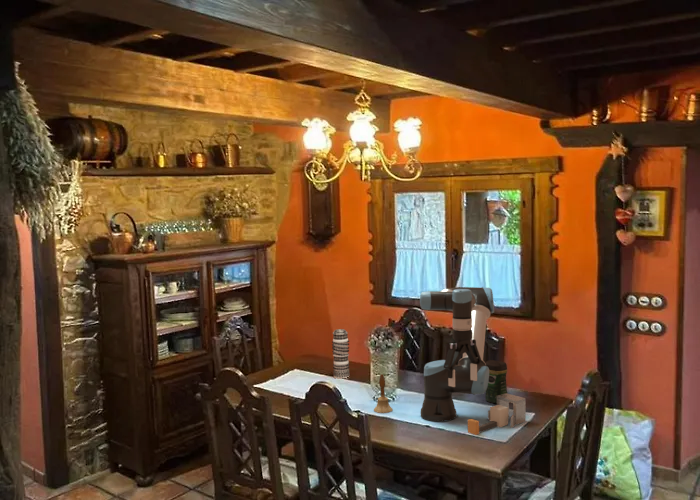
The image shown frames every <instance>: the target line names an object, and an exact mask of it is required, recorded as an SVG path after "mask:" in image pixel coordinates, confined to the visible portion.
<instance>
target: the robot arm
mask: <svg viewBox="0 0 700 500" xmlns="http://www.w3.org/2000/svg"><path fill="white" fill-rule="evenodd" d="M419 305H420V308H421V310H428V311H449V312H452V328H453V329H452V339H453V340H454V343H452V342H450V343H449V344H448V351H447V353H446V358H445V359H439V360H434V361H430V362H427V363H425V364H424V367H423V388H424V389H423V394H424V396H423V402H422V405H421V408H420V417H421V419H423V420H427V421H431V422H448V421H452V420H454V419H456V418H457V409H456V407H455V404H454V400H453V394H466V395H474V396H475V395H484V394H486V390H487V386H488V381H489V368H488V367H487V366H486V362H485V361H484V354H485V353H484V350H485V340H486V339H485V338H486V329H487V320H488V319H489V318H490V317H491V314H493V313H495V304H494V293H493V289H492V288H491V287H485V286H482V287H475V286H469V287H468V286H465V287H462V286H457V287H449V288H445V289H443V290H440V291H433V290H431V291H429V290H428V291H421V293H420V296H419ZM460 356H462V358H460ZM459 358H460V359H459ZM457 362H458V363H457Z"/></svg>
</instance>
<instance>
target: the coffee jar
mask: <svg viewBox="0 0 700 500" xmlns="http://www.w3.org/2000/svg"><path fill="white" fill-rule="evenodd" d="M485 363H486V366H487V367H488V368H489V381H488V386H487V390H486V392H485V397H484V398H485V399H484V400H485V401H486V402H489V403H493V404H495V405H497V396H498V395H502V394H505V393H507V394H508V389H507V388H508V387H507V373H508V365H507V363H506V362H505V361H498V360H493V359H490V360H486V362H485Z"/></svg>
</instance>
